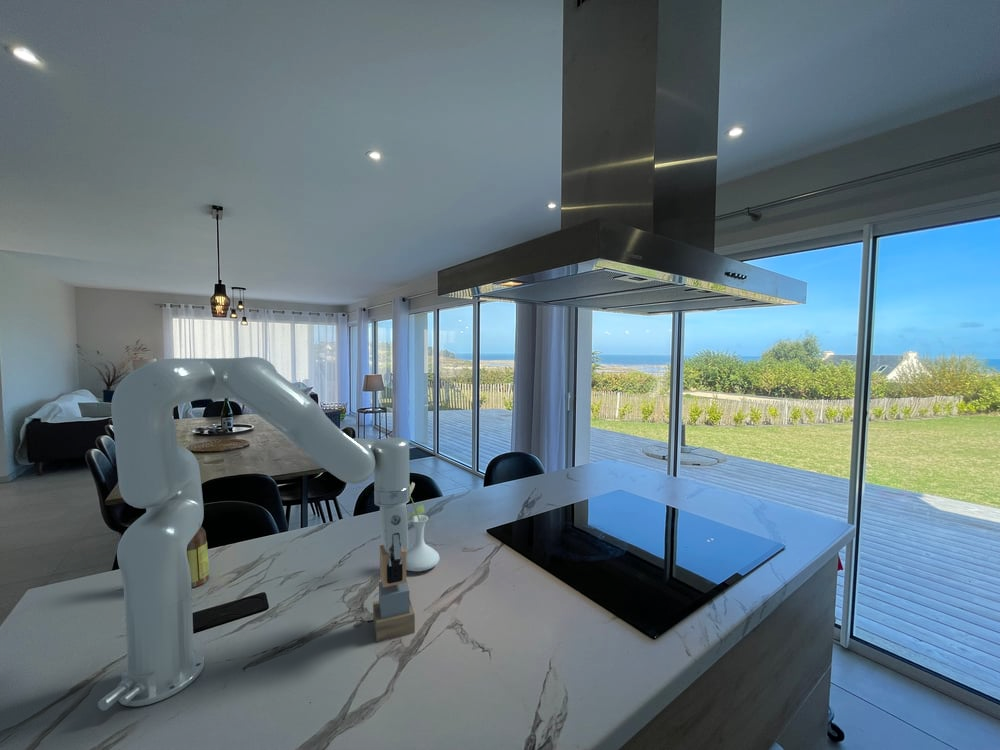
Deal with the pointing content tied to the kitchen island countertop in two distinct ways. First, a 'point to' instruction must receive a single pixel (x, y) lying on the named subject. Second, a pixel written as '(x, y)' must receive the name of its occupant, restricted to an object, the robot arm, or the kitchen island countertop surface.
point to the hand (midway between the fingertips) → (392, 574)
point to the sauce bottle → (198, 558)
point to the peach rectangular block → (385, 562)
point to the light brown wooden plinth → (392, 624)
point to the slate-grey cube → (394, 600)
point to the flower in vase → (420, 543)
